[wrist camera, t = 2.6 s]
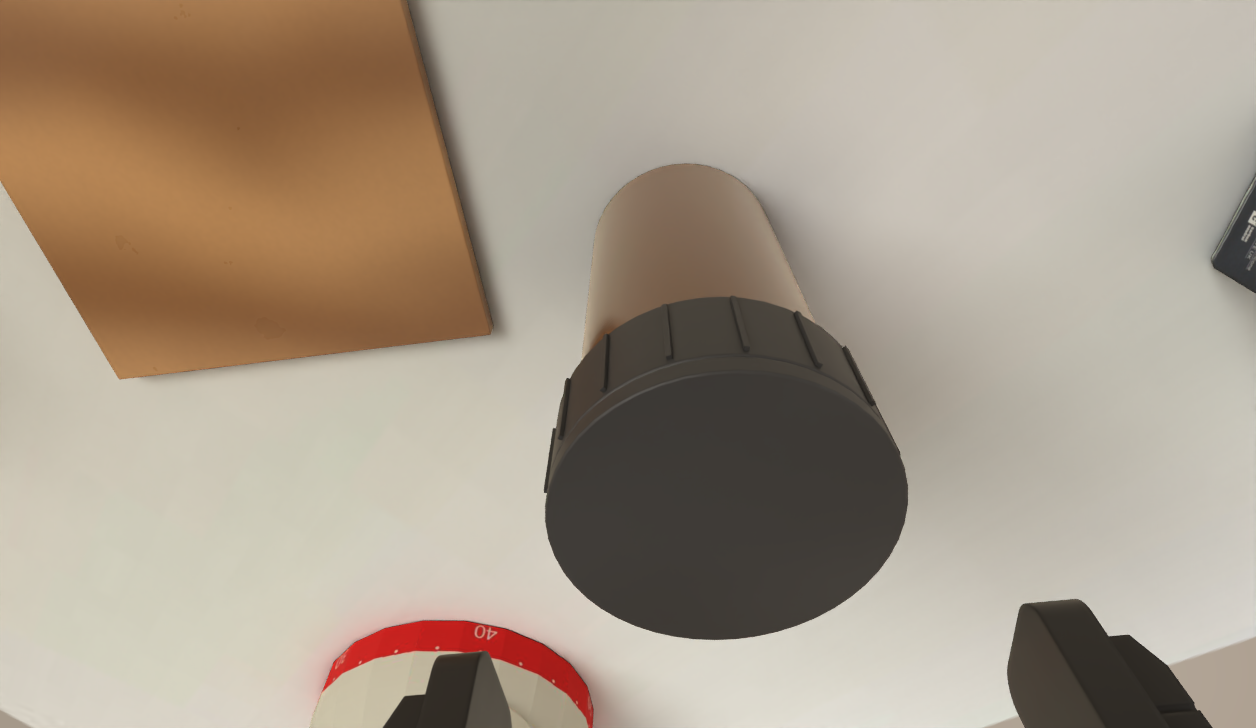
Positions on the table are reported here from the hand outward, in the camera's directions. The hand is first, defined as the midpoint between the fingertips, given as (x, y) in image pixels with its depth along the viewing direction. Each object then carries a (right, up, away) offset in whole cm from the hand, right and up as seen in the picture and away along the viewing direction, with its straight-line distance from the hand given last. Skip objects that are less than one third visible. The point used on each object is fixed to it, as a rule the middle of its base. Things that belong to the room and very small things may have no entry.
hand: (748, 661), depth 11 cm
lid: (0, +2, +3) cm, 3 cm away
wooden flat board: (-15, +14, +10) cm, 23 cm away
